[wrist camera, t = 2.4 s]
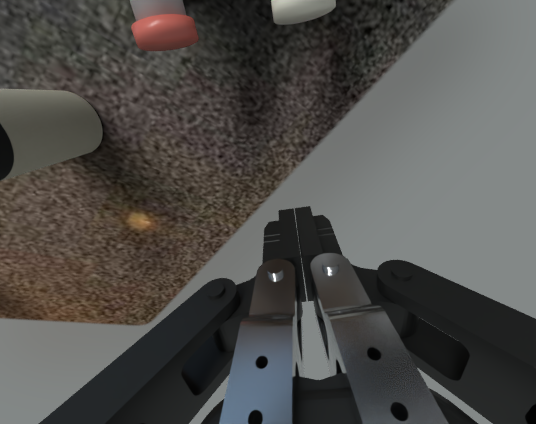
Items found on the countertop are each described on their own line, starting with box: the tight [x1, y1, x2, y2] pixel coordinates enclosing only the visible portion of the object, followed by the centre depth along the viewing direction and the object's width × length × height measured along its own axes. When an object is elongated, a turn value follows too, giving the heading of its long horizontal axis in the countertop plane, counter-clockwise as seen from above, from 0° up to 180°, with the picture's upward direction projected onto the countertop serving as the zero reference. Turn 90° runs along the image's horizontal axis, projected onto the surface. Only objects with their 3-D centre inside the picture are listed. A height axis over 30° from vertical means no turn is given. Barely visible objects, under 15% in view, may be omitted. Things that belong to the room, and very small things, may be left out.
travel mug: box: [0, 89, 103, 181], centre depth 25 cm, size 8×8×18 cm
